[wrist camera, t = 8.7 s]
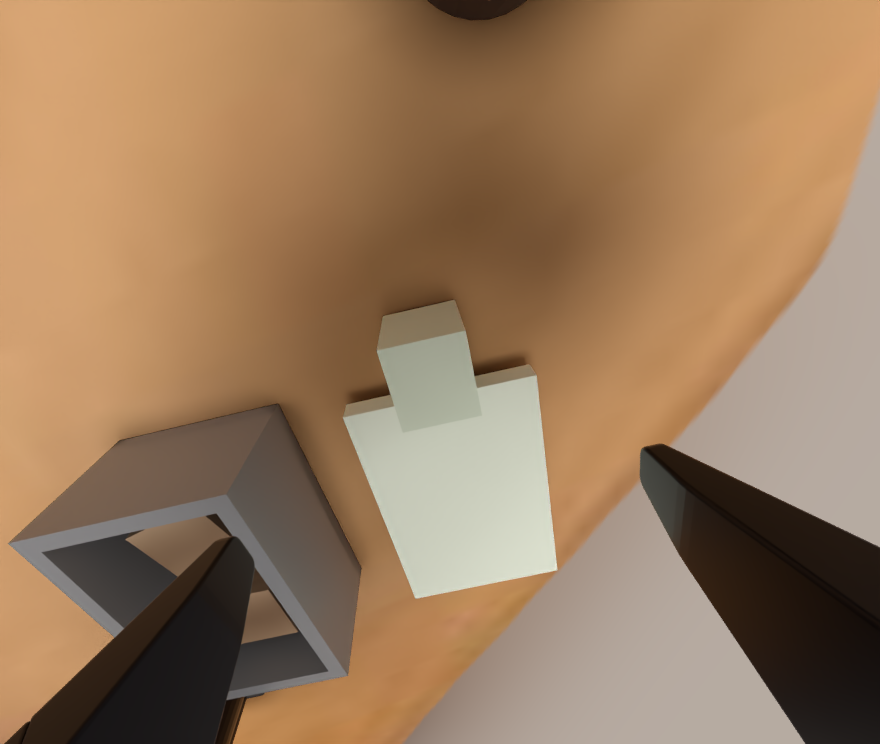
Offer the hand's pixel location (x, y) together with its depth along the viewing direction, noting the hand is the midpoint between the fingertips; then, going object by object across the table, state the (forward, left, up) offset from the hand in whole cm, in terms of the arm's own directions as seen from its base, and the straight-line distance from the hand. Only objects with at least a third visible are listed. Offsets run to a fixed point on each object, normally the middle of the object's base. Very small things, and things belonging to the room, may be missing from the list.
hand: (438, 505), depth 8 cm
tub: (-10, +13, -12) cm, 20 cm away
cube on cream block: (-9, 0, -12) cm, 15 cm away
